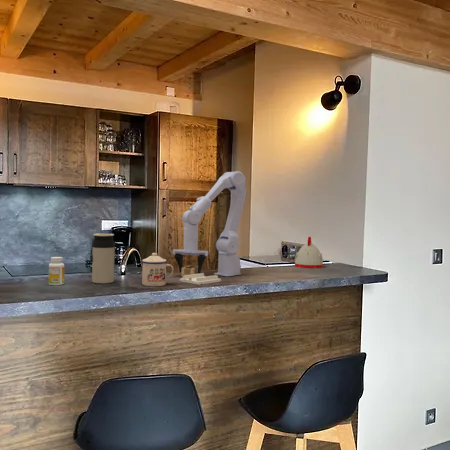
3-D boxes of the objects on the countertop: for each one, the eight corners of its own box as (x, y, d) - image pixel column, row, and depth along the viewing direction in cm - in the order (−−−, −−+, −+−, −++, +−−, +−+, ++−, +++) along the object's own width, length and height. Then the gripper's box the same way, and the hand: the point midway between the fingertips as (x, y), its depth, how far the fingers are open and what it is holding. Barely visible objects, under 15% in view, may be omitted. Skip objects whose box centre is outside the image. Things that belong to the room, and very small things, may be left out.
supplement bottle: (59, 282, 181) (59, 256, 180) (67, 284, 177) (67, 257, 177) (45, 284, 177) (45, 257, 176) (53, 285, 173) (54, 258, 173)
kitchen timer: (292, 267, 241) (293, 236, 241) (296, 264, 255) (297, 235, 254) (321, 269, 237) (322, 238, 237) (324, 265, 250) (325, 236, 250)
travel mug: (116, 280, 187) (117, 233, 187) (109, 284, 180) (110, 235, 179) (96, 280, 188) (97, 233, 187) (88, 283, 180) (89, 234, 180)
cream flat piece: (200, 278, 199) (200, 272, 199) (221, 281, 192) (221, 275, 192) (179, 281, 190) (179, 275, 190) (199, 284, 183) (199, 278, 183)
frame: (187, 275, 207) (187, 265, 207) (198, 275, 206) (198, 266, 206) (181, 278, 198) (181, 268, 198) (193, 278, 197) (193, 268, 197)
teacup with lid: (146, 287, 175) (146, 254, 175) (138, 283, 183) (138, 252, 183) (177, 285, 181) (178, 253, 180) (168, 281, 189) (168, 251, 188)
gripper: (170, 239, 199) (170, 273, 199) (205, 241, 196) (205, 274, 197) (175, 238, 206) (175, 270, 206) (209, 239, 203) (208, 272, 203)
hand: (190, 272), depth 202 cm, fingers open, 7 cm apart
